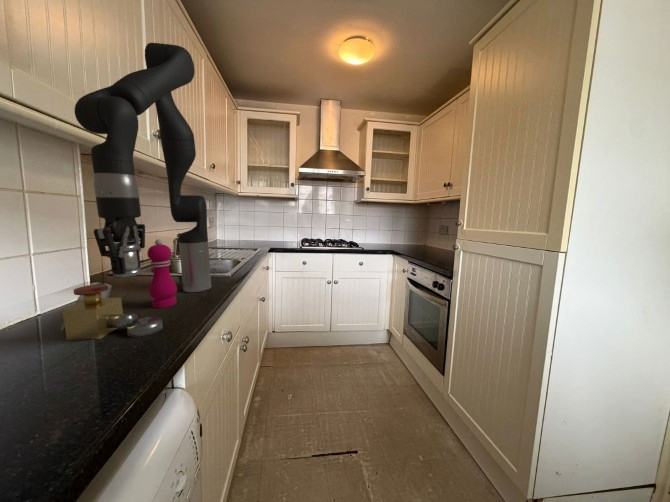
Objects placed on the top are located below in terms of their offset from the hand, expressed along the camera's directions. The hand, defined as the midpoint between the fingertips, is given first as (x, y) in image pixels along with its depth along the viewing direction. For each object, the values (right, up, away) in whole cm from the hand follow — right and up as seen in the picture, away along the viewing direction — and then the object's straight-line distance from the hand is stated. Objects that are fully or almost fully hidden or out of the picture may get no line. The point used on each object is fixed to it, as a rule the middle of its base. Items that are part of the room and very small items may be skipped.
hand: (127, 270), depth 63 cm
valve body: (-3, -15, +3) cm, 15 cm away
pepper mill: (-4, -12, +20) cm, 24 cm away
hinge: (-18, -14, +11) cm, 25 cm away
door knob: (0, -1, 0) cm, 1 cm away
